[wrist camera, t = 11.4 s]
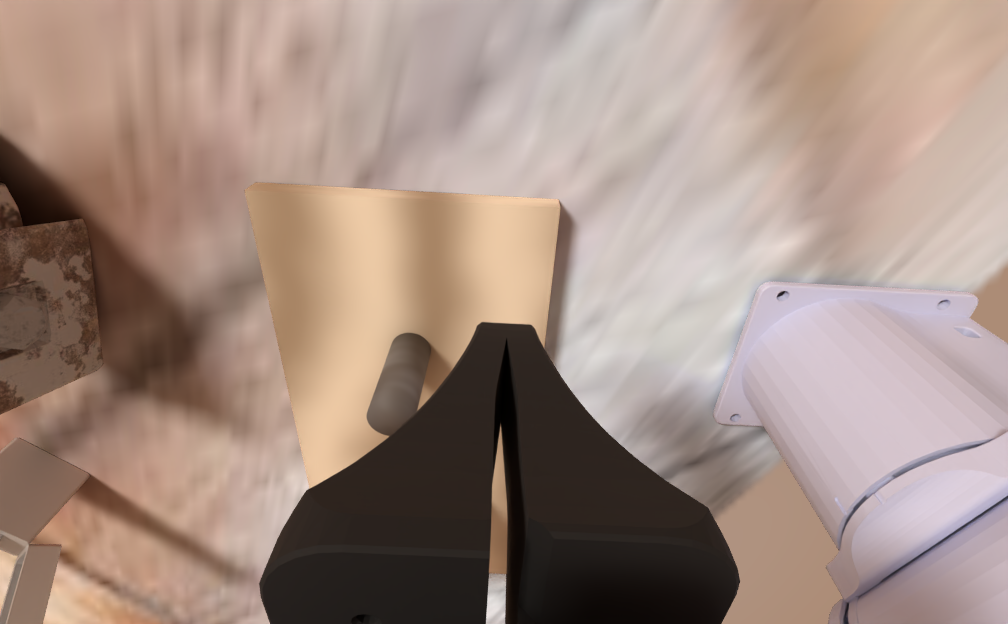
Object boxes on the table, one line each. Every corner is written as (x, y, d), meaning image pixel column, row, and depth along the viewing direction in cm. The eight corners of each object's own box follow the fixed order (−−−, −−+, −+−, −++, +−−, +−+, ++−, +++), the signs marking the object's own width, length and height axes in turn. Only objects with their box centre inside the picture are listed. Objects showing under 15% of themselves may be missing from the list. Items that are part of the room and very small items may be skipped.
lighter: (4, 451, 28) (-161, 595, 21) (16, 436, 27) (-150, 580, 20) (127, 512, 31) (16, 658, 24) (140, 500, 30) (30, 646, 23)
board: (558, 199, 20) (572, 257, 15) (517, 559, 32) (518, 652, 28) (255, 182, 20) (176, 236, 15) (331, 551, 32) (300, 643, 28)
